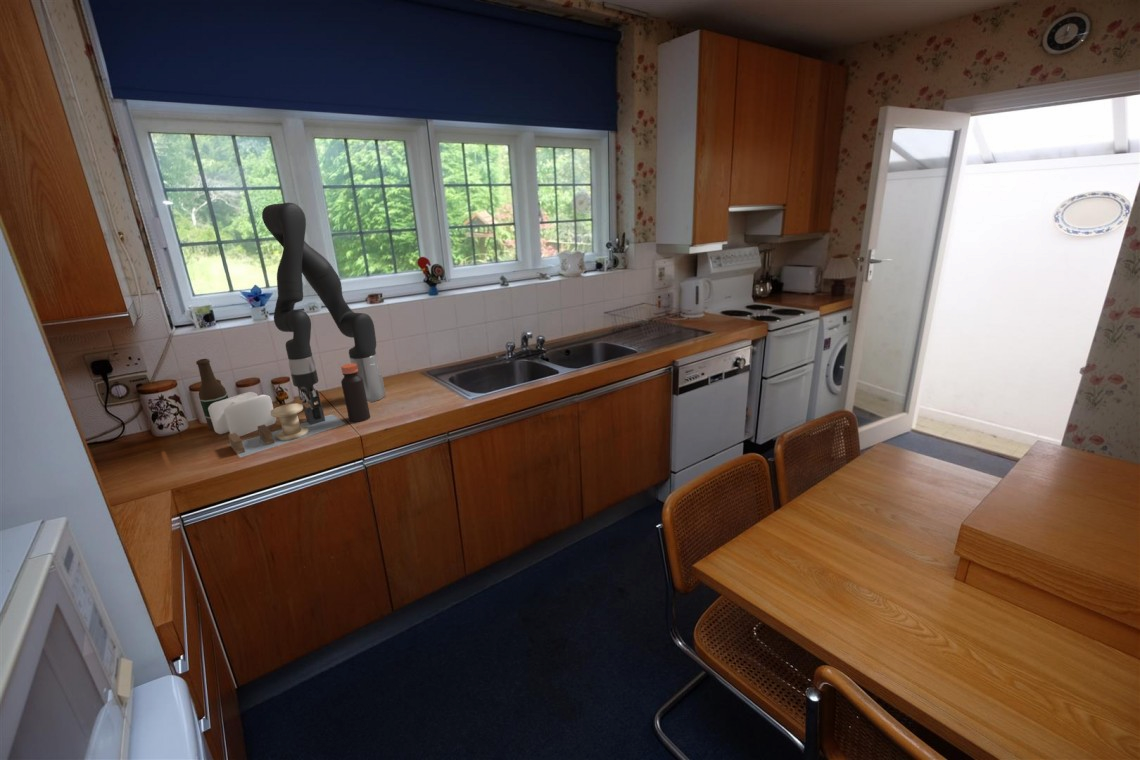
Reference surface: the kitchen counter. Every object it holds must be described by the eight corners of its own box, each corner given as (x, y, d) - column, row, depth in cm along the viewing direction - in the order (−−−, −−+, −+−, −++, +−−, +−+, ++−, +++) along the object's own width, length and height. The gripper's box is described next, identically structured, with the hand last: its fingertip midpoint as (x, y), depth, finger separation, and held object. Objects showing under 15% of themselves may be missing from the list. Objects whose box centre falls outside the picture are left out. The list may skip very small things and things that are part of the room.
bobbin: (303, 426, 165) (297, 401, 162) (312, 433, 159) (306, 407, 156) (273, 435, 159) (266, 409, 157) (282, 443, 153) (275, 416, 150)
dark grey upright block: (320, 417, 172) (316, 399, 170) (325, 420, 169) (321, 402, 167) (307, 421, 169) (302, 403, 167) (311, 424, 166) (307, 406, 164)
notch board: (267, 435, 160) (264, 424, 158) (274, 442, 154) (271, 431, 153) (231, 446, 153) (227, 434, 152) (237, 454, 148) (233, 442, 146)
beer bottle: (220, 421, 176) (200, 356, 168) (240, 421, 175) (221, 356, 167) (203, 431, 169) (181, 363, 161) (225, 430, 168) (204, 362, 160)
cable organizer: (232, 442, 158) (221, 409, 154) (215, 436, 164) (205, 404, 160) (278, 425, 170) (270, 393, 166) (261, 420, 176) (253, 389, 172)
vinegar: (371, 415, 174) (361, 361, 167) (370, 423, 168) (358, 367, 161) (351, 419, 172) (339, 364, 166) (348, 426, 166) (336, 369, 159)
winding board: (332, 416, 175) (332, 414, 175) (346, 426, 166) (346, 423, 166) (230, 447, 155) (229, 444, 154) (240, 460, 146) (239, 457, 146)
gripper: (322, 371, 161) (332, 417, 166) (308, 363, 171) (317, 407, 176) (297, 377, 156) (308, 424, 161) (284, 368, 166) (295, 413, 171)
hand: (313, 415), depth 168 cm, fingers open, 8 cm apart
